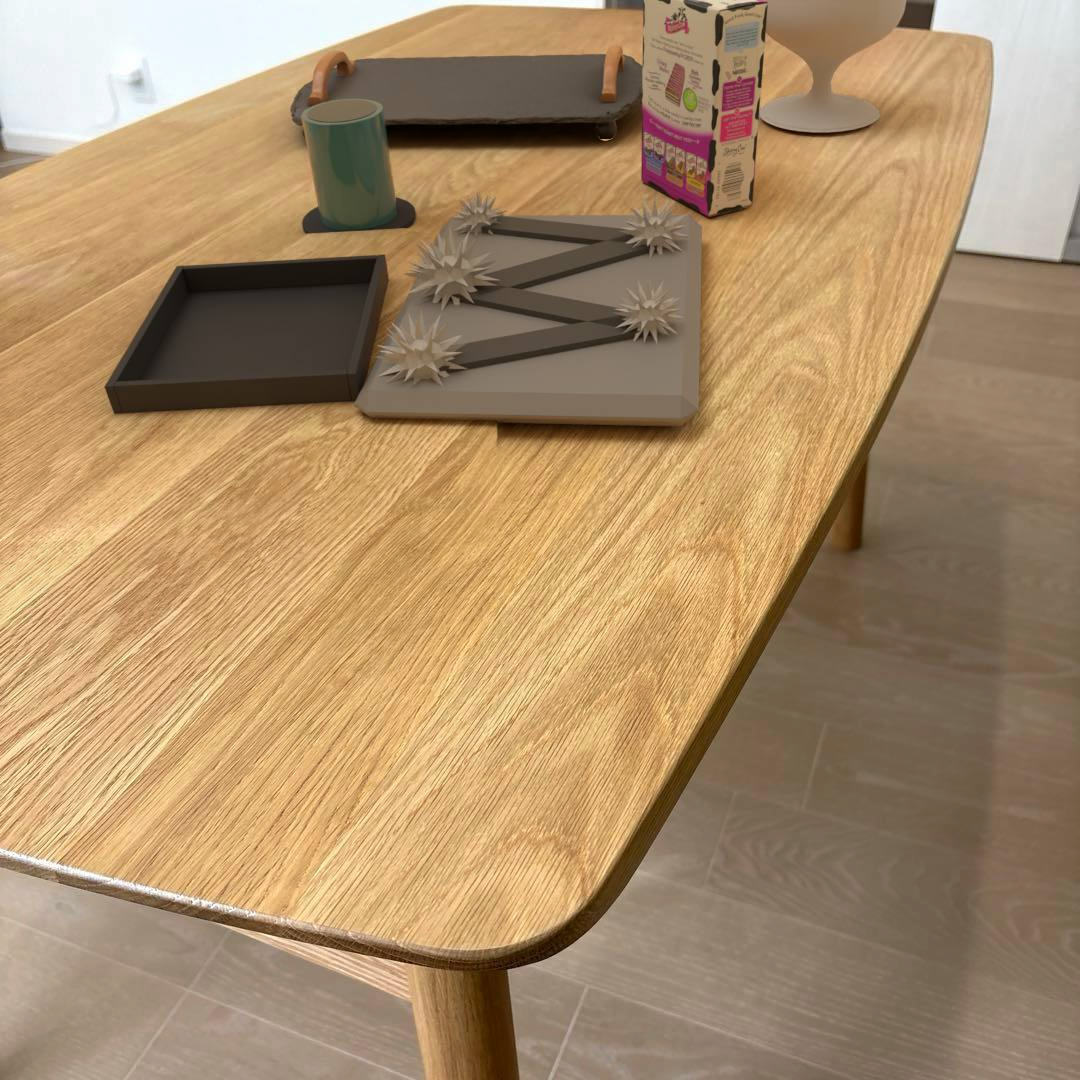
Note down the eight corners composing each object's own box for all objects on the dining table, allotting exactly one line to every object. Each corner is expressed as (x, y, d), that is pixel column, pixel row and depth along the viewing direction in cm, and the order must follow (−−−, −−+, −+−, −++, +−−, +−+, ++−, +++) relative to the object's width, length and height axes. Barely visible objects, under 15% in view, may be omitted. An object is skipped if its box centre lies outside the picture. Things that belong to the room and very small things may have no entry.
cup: (315, 233, 92) (294, 125, 86) (326, 203, 97) (307, 100, 91) (393, 228, 92) (378, 121, 86) (401, 199, 97) (386, 95, 91)
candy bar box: (756, 207, 92) (772, -1, 82) (708, 220, 91) (718, 10, 81) (683, 169, 100) (689, -24, 90) (638, 181, 99) (639, -15, 88)
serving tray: (655, 79, 123) (656, 20, 119) (643, 147, 106) (644, 82, 102) (333, 83, 129) (323, 28, 125) (270, 150, 111) (257, 88, 107)
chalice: (917, 123, 107) (945, -45, 97) (797, 149, 103) (814, -24, 94) (836, 88, 117) (854, -67, 108) (724, 110, 113) (732, -49, 104)
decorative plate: (697, 440, 65) (702, 335, 60) (354, 432, 68) (335, 331, 63) (701, 238, 88) (705, 151, 83) (445, 238, 91) (436, 154, 86)
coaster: (294, 247, 91) (293, 242, 91) (312, 203, 99) (311, 197, 98) (411, 241, 91) (410, 235, 90) (420, 197, 98) (419, 191, 98)
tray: (117, 423, 70) (104, 386, 68) (185, 299, 84) (176, 265, 82) (362, 410, 70) (356, 373, 68) (390, 287, 84) (385, 254, 82)
